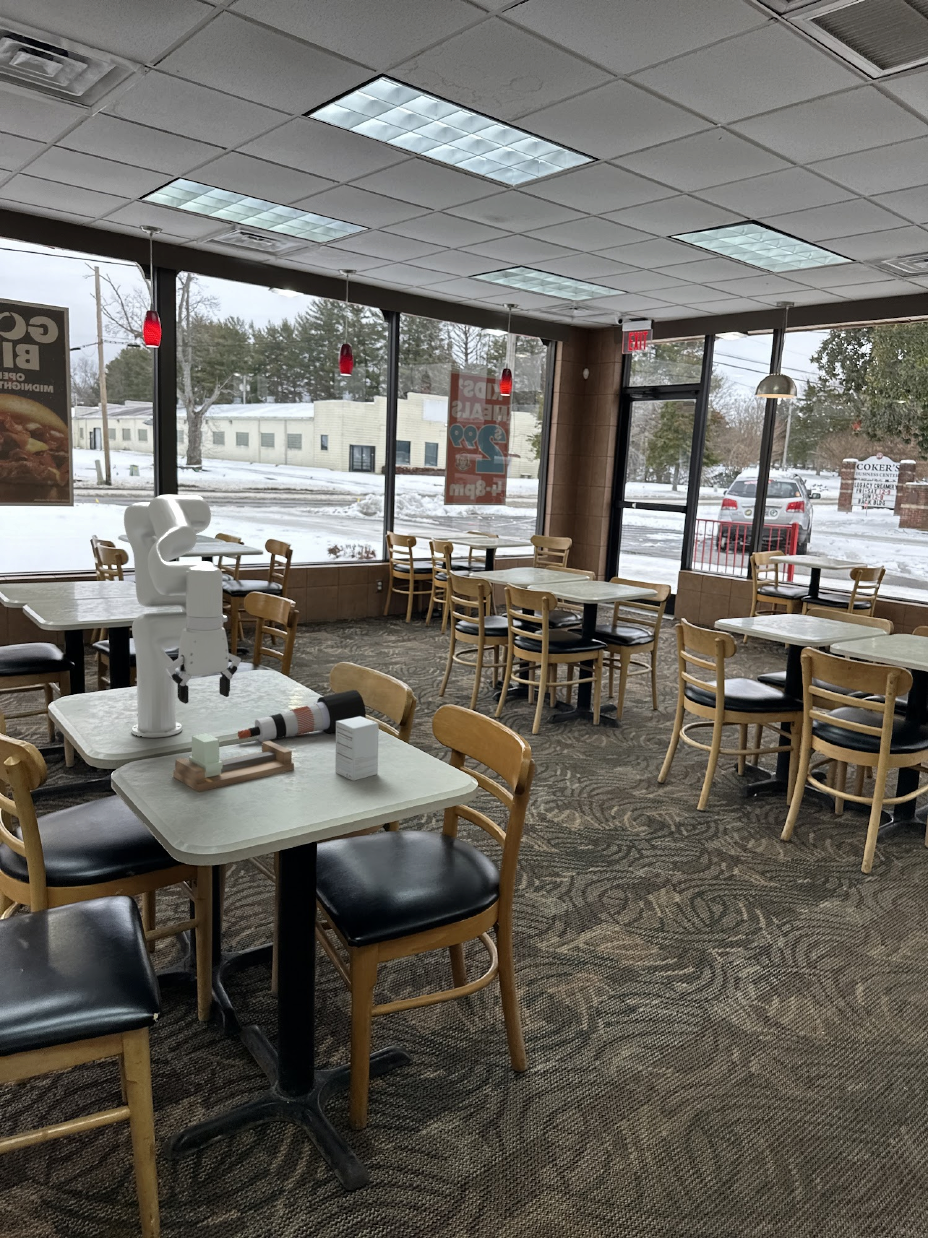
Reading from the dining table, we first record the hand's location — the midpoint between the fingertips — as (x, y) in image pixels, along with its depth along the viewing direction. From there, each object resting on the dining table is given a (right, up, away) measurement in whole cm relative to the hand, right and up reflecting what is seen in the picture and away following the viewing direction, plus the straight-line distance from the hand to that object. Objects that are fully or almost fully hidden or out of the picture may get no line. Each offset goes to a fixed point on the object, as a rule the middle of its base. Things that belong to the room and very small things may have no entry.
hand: (204, 698), depth 190 cm
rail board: (+5, -18, +7) cm, 20 cm away
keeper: (0, -17, +2) cm, 17 cm away
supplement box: (+32, -19, +11) cm, 39 cm away
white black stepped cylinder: (+14, -14, +38) cm, 43 cm away
